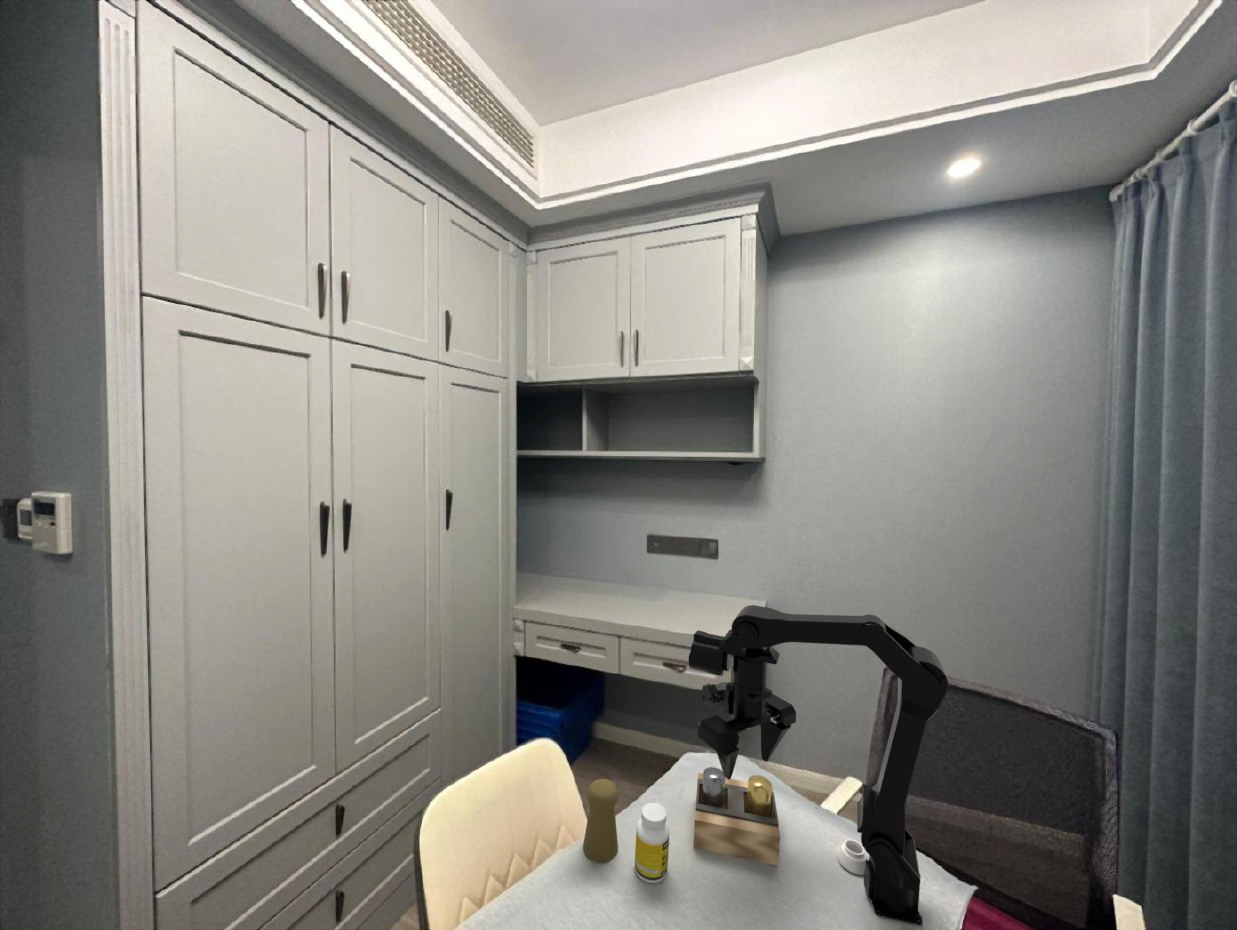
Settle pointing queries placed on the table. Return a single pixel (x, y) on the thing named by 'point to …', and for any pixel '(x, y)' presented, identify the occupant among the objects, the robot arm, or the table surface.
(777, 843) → the socket board
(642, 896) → the table surface
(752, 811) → the brass plunger
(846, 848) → the white jar
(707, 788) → the steel plunger
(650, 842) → the supplement bottle
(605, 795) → the olive brown pepper mill
